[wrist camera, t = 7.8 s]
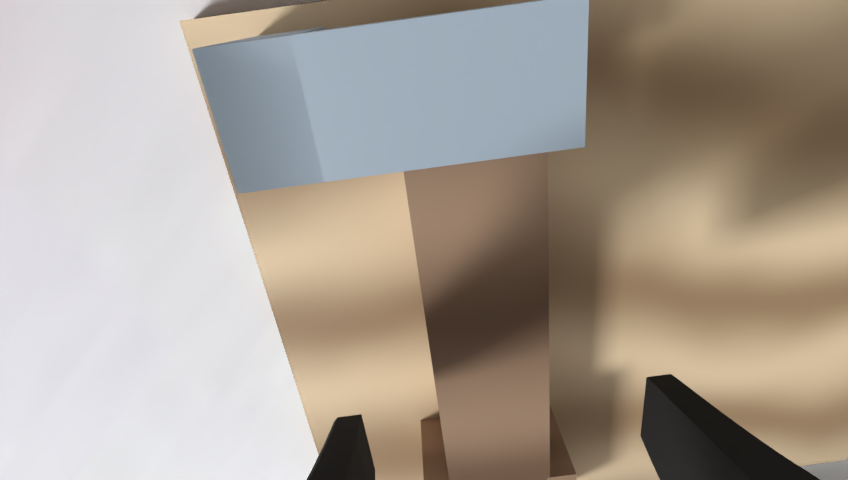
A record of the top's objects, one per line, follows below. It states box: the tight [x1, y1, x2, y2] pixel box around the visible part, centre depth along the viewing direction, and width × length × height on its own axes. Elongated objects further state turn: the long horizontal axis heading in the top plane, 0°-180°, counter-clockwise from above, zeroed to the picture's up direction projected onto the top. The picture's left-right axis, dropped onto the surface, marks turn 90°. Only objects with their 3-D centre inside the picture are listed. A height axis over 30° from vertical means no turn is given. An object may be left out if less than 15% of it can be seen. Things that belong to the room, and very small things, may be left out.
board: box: [180, 0, 848, 480], centre depth 17 cm, size 21×23×1 cm
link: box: [403, 152, 576, 480], centre depth 16 cm, size 19×5×3 cm, turn 7°
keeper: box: [192, 0, 589, 194], centre depth 11 cm, size 3×7×4 cm, turn 97°
